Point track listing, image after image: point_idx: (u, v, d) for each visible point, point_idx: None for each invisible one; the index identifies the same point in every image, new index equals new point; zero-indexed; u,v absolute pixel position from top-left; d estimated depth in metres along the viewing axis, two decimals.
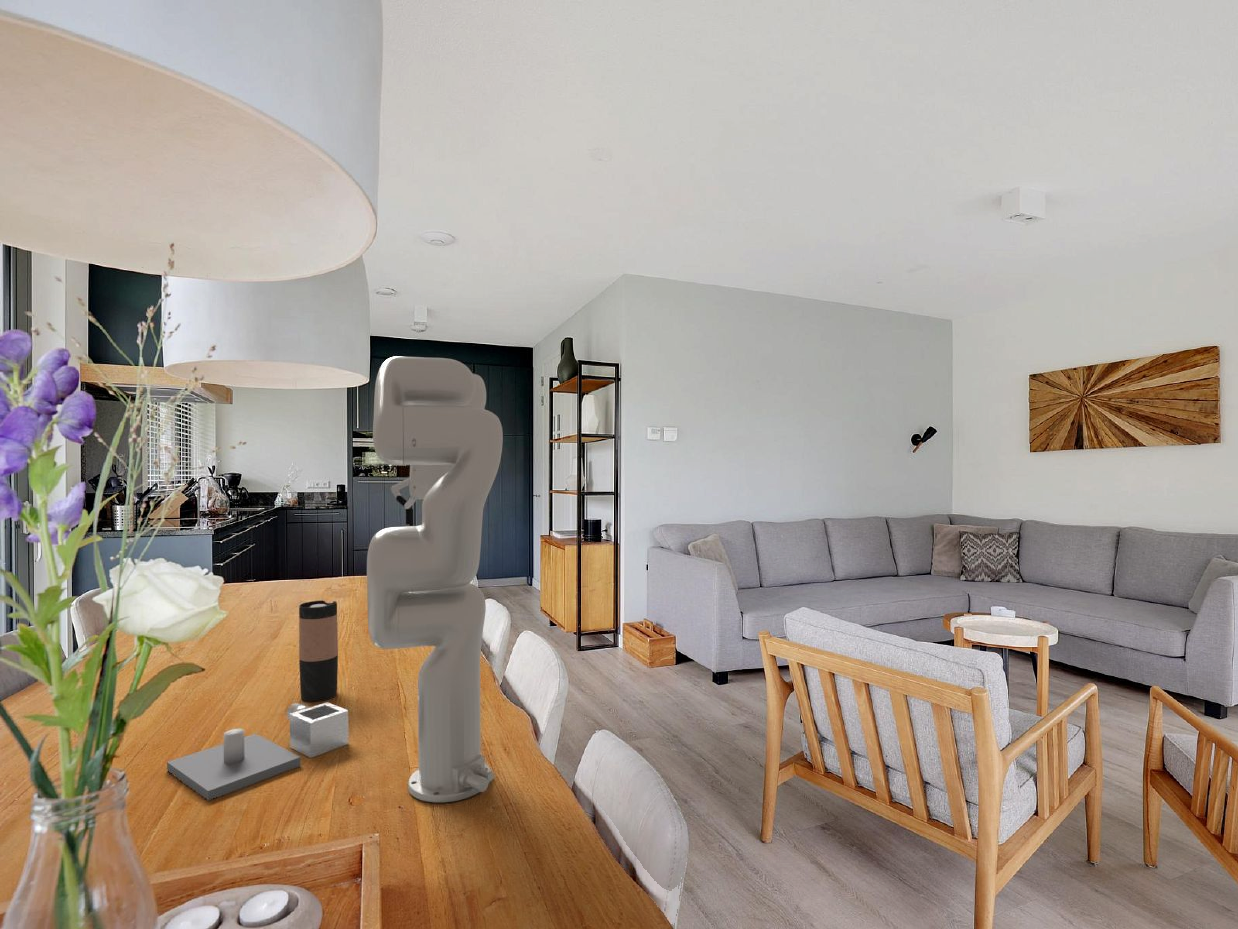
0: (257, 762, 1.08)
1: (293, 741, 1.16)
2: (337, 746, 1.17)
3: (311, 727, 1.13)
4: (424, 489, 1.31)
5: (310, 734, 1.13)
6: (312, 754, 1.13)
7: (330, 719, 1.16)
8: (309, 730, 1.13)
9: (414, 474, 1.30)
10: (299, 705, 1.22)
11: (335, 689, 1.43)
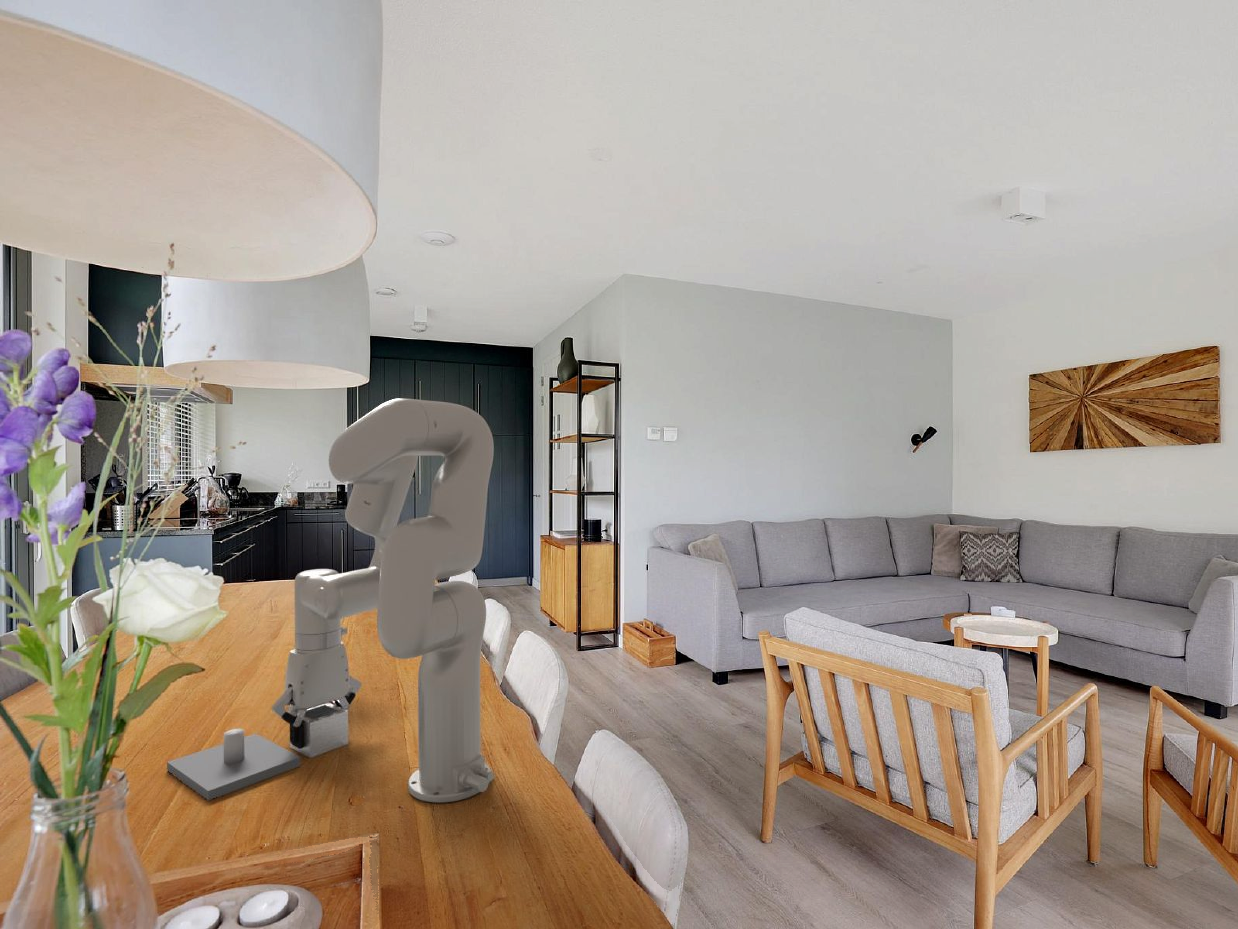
0: (257, 762, 1.08)
1: None
2: (337, 746, 1.17)
3: (311, 727, 1.13)
4: None
5: (310, 734, 1.13)
6: (312, 754, 1.13)
7: (330, 719, 1.16)
8: (309, 730, 1.13)
9: None
10: None
11: None
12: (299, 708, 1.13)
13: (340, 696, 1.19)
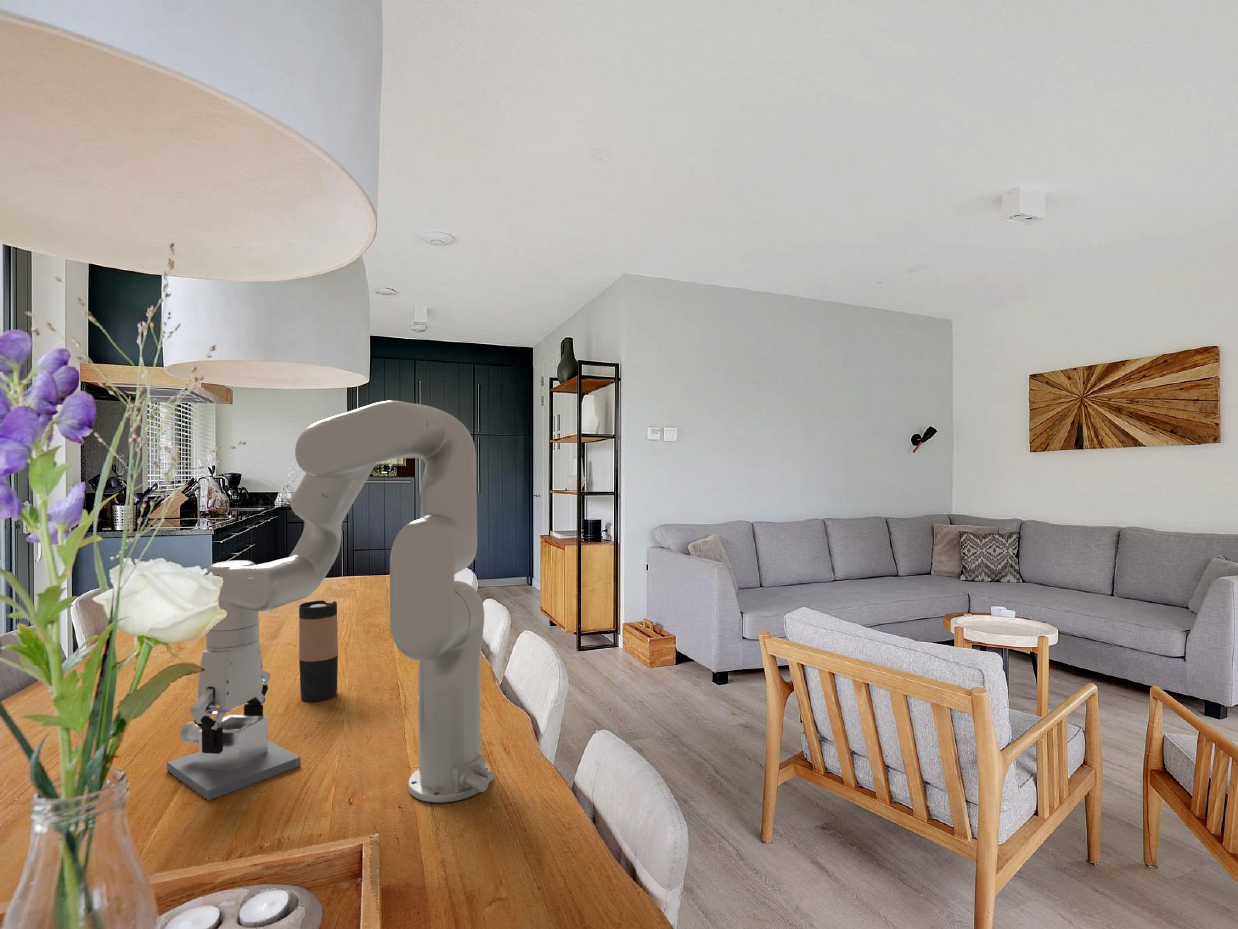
0: (257, 762, 1.08)
1: (206, 760, 1.06)
2: (259, 755, 1.10)
3: (240, 737, 1.05)
4: None
5: (239, 745, 1.05)
6: (240, 766, 1.06)
7: (254, 727, 1.09)
8: (237, 741, 1.05)
9: None
10: None
11: (335, 689, 1.43)
12: (224, 710, 1.05)
13: (256, 694, 1.12)
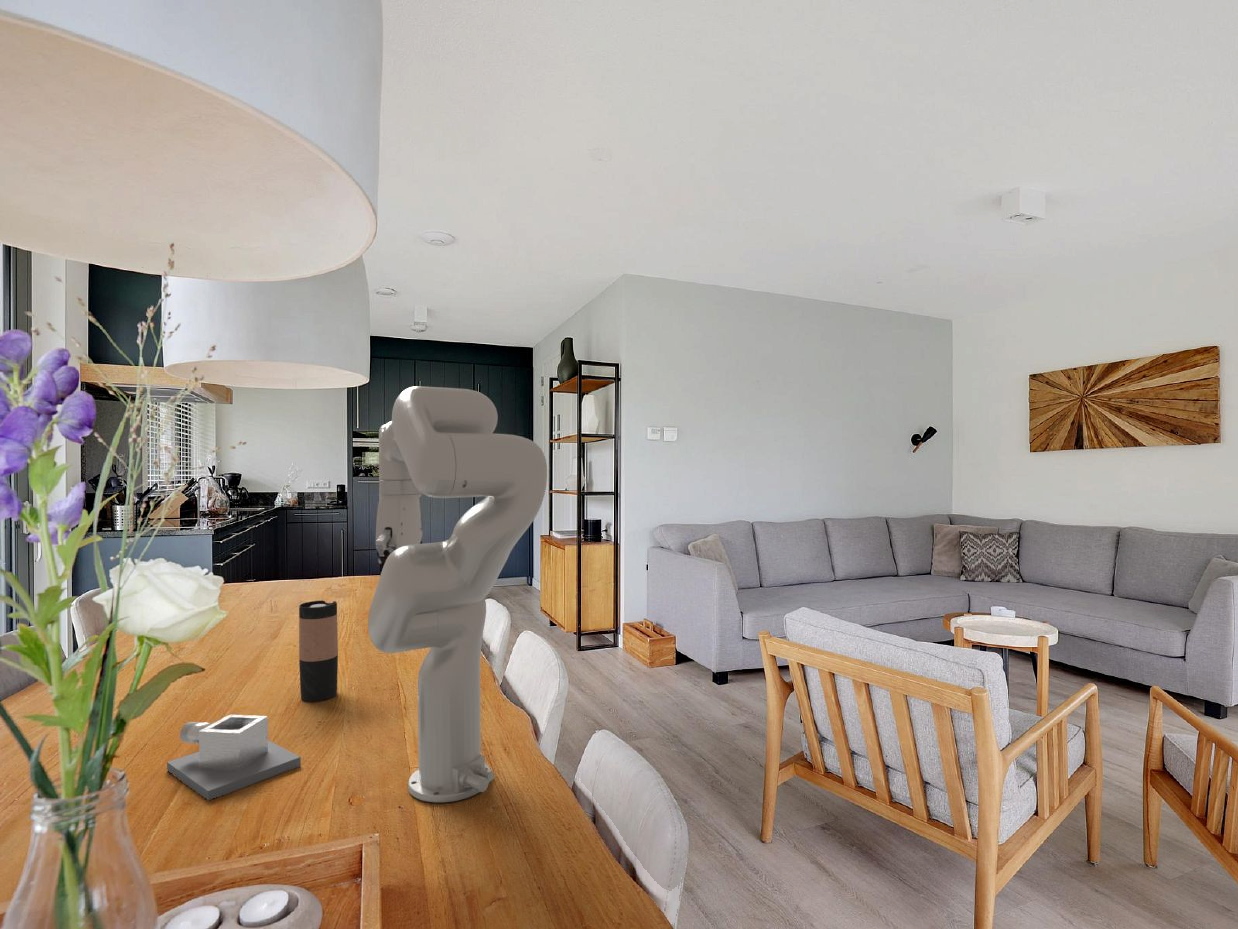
0: (257, 762, 1.08)
1: (206, 760, 1.06)
2: (259, 755, 1.10)
3: (240, 737, 1.05)
4: None
5: (239, 745, 1.05)
6: (240, 766, 1.06)
7: (254, 727, 1.09)
8: (237, 741, 1.05)
9: None
10: (197, 723, 1.10)
11: (335, 689, 1.43)
12: None
13: (417, 543, 1.27)
